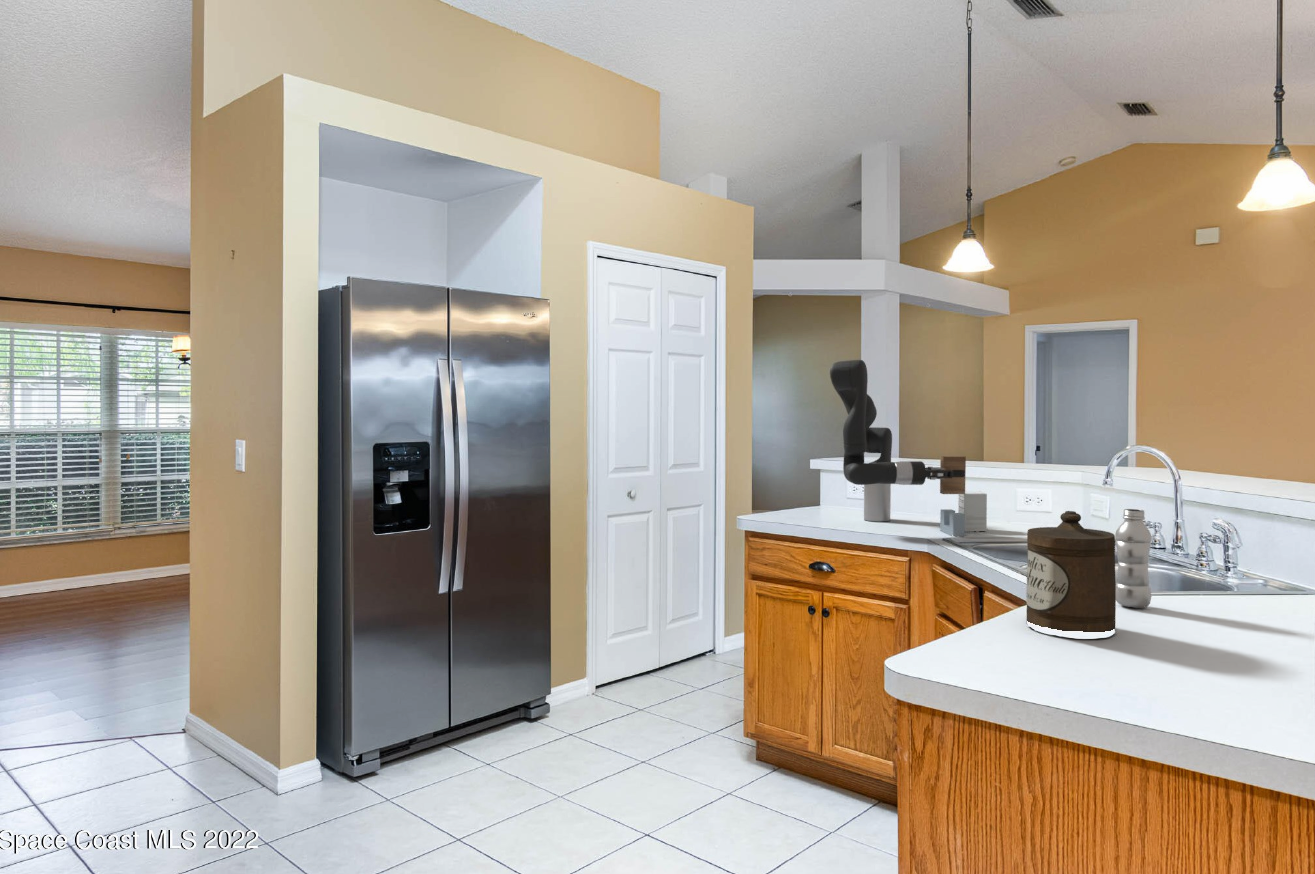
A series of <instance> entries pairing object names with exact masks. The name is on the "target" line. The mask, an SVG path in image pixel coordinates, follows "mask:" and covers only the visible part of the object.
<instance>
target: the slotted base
mask: <svg viewBox="0 0 1315 874" xmlns="http://www.w3.org/2000/svg"><path fill="white" fill-rule="evenodd" d="M939 514H940V516H939V517H940V520H939V521H940V522H939V523H940V524H939V525H940V529H939V530H940V532H942V533H944V532H945V533H944V534H947V535H949V536H951V535H953V536H965V534H966V532H965V514H963V513H958V512H956V510H954V509H949V508H948V509H940V513H939ZM953 536H952V537H953Z"/></svg>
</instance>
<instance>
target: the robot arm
mask: <svg viewBox="0 0 1315 874" xmlns="http://www.w3.org/2000/svg"><path fill="white" fill-rule="evenodd" d="M867 368H868V367H867V364H866V363H865V361H864V360H862V359H853V360H852V359H850V360H841V361H837V362H834V363H832V364H831V366H830V369H829V375H830V376H829V377H830V382H831V384H832V386H833V388H834V390H835V391H836V393H837V394H838V396H839V398H840V399H841V401H842V403H843V405H844V407H845V410H846V413H847V415H848V416H847V417H846V419H845V421H844V424H843V429H842V438H843V439H842V440H843V449H844V452H843V463H842V464H843V467H842V468H843V475H844V477H845V480H846V481H848V482H849V483H851V484H853V485H858V486H859V485H861V486H863V520H865V521H868V522H890V521H891V507H892V506H891V505H892V504H891V503H892V502H891V499H892V498H891V497H892V496H891V495H892V494H891V492H892V491H891V487H892V485H901V486H902V485H903V486H907V485H909V486H910V485H911V486H915V485H916V486H918V485H919V486H921V485H924V483H925V482H926V479H928V480H930V481H931V480H933V481H936V480H940V479H945V478H953V477H964V473H965V472H964V470H952V469H950V470H945V469H944V468H941V467H939V466H938V467H937V466H927V467H926V464H925V463H924V461H920V460H919V461H915V460H914V461H911V460H910V461H909V460H908V461H906V460H905V461H904V460H902V461H901V460H900V461H894V462H893V461H892V447H893V434H892V431H891V429H890V428H889V427H877V426H876V427H873V426H872V424H873V423H875V420H876V418H877V416H878V414H877V413H878V412H877V408H876V405H875V402H874V400H873V399H872V397H871V396H870V395H869V394H868V383H869V382H868V378H869V377H868V369H867ZM871 426H872V427H871ZM865 453H867V454H880V456H879V458H877V459H876V460H874V461H871V462H865ZM941 470H942V471H941ZM948 472H949V476H947V473H948Z"/></svg>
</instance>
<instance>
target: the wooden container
mask: <svg viewBox="0 0 1315 874" xmlns="http://www.w3.org/2000/svg"><path fill="white" fill-rule="evenodd" d="M1059 517H1060V520H1061V522H1060V524H1058V525H1057V526H1045V527H1044V526H1041V527H1040V526H1039V527H1032V528H1028V529H1027V534H1026V536H1027V537H1026V540H1027V563H1026V566H1027V567H1026V571H1027V572H1026V589H1025V590H1026V592H1025V594H1026V595H1025V596H1026V622H1027V621H1028V622H1030V623H1033V624H1035V625H1039V626H1041V627H1048V628H1051V629H1057V630H1062V631H1083V632H1105V631H1111V630H1113V629H1115V630H1116V611H1117V610H1116V608H1117V607H1116V605H1117V603H1116V602H1117V601H1116V583H1117V581H1116V553H1115V552H1116V539H1115V534H1114V533H1113V532H1110V531H1106V530H1101V529H1094V528H1093V529H1092V528H1084V527H1083V526H1082V524H1081V523H1080V522H1081V520H1082V516H1081V514H1080V513H1078V512H1076V511H1074V510H1065V512H1063V513H1061V514H1060V516H1059Z"/></svg>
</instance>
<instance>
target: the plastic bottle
mask: <svg viewBox="0 0 1315 874" xmlns="http://www.w3.org/2000/svg"><path fill="white" fill-rule="evenodd" d="M1122 519H1124V521H1123V522H1122V523H1121V524H1120V525H1119V526H1118V528H1117V529H1116V531H1115V534H1114V535H1115V547H1116V551H1117V560H1118V561H1117V574H1116V575H1117V576H1116V602H1117V604H1118V605H1121V606H1124V607H1127V608H1130V607H1136V608H1135V609H1138V608H1139V609H1140V608H1141V609H1142V608H1147V607H1149V605H1151V600H1152V597H1153V596H1152V591H1151V586H1150V579H1149V577H1150V576H1149V560H1150V559H1149V558H1150V552H1151V546H1152V533H1151V531H1150V530H1149V527H1147V525H1146V524H1145V523H1144V521H1145V519H1146V517H1145V510H1143V509H1135V508H1125V509H1123V516H1122Z"/></svg>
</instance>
